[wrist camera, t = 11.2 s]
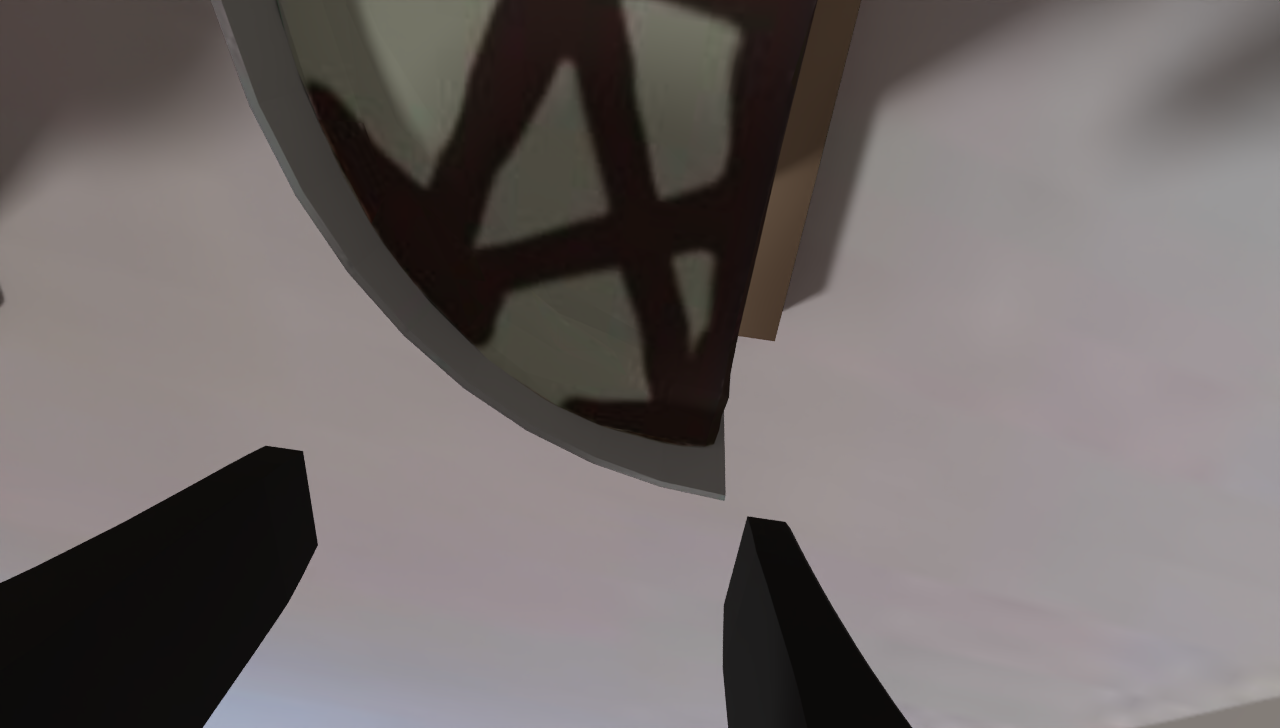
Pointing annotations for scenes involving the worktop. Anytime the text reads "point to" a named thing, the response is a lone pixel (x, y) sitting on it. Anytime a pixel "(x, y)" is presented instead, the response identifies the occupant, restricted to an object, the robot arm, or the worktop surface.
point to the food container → (544, 194)
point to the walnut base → (798, 165)
